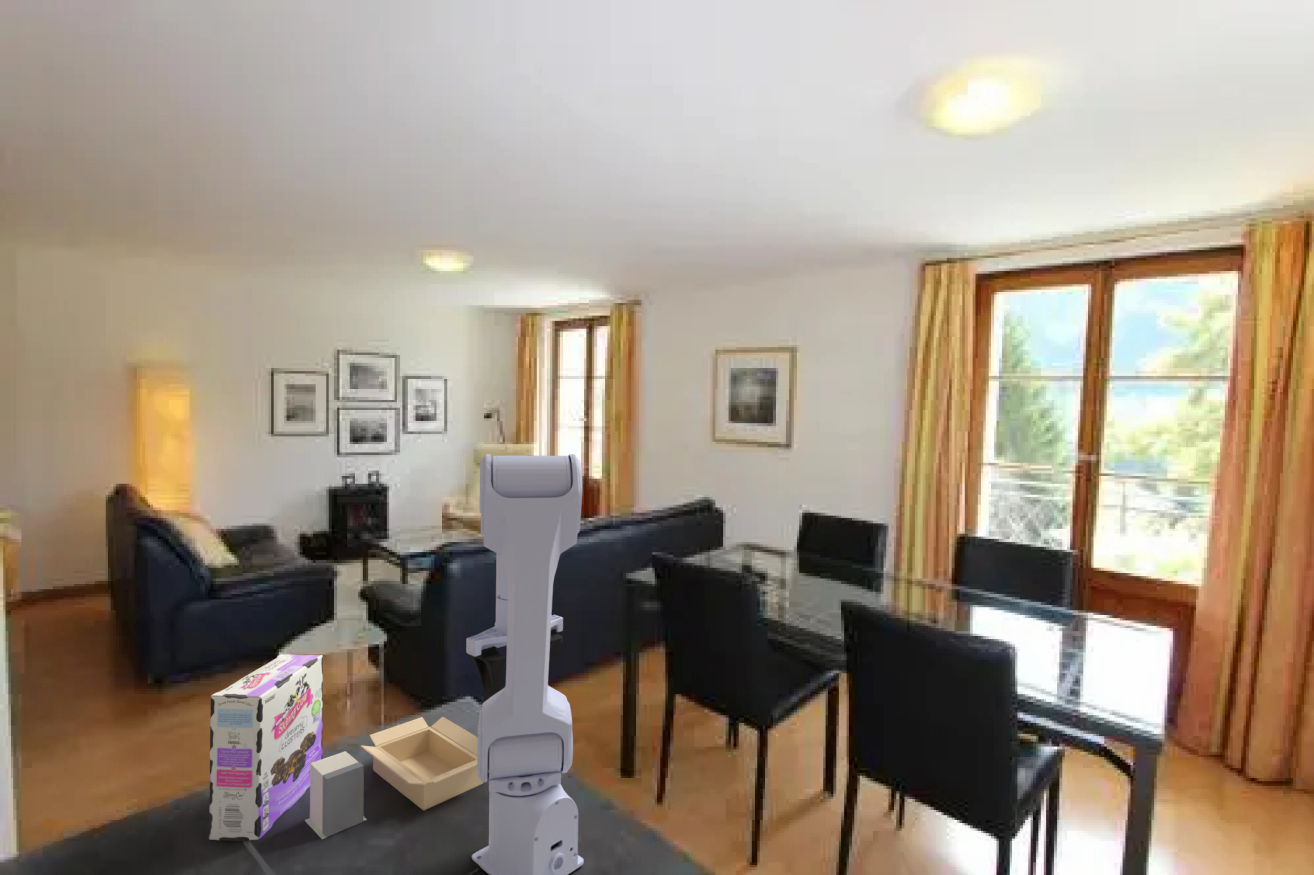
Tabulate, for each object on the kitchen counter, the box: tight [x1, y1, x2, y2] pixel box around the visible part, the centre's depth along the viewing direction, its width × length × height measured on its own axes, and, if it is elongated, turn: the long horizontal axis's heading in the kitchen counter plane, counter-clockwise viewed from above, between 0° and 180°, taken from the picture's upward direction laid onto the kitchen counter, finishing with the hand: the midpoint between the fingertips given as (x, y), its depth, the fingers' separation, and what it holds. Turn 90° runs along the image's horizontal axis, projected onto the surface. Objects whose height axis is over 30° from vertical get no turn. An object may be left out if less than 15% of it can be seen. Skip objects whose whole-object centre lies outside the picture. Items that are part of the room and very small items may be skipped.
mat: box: [304, 815, 368, 840], centre depth 77 cm, size 5×5×1 cm
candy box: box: [208, 653, 324, 842], centre depth 80 cm, size 14×6×16 cm, turn 179°
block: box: [309, 750, 365, 838], centre depth 77 cm, size 5×4×7 cm
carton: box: [359, 716, 484, 811], centre depth 86 cm, size 12×17×4 cm
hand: (516, 694), depth 90 cm, fingers open, 7 cm apart
